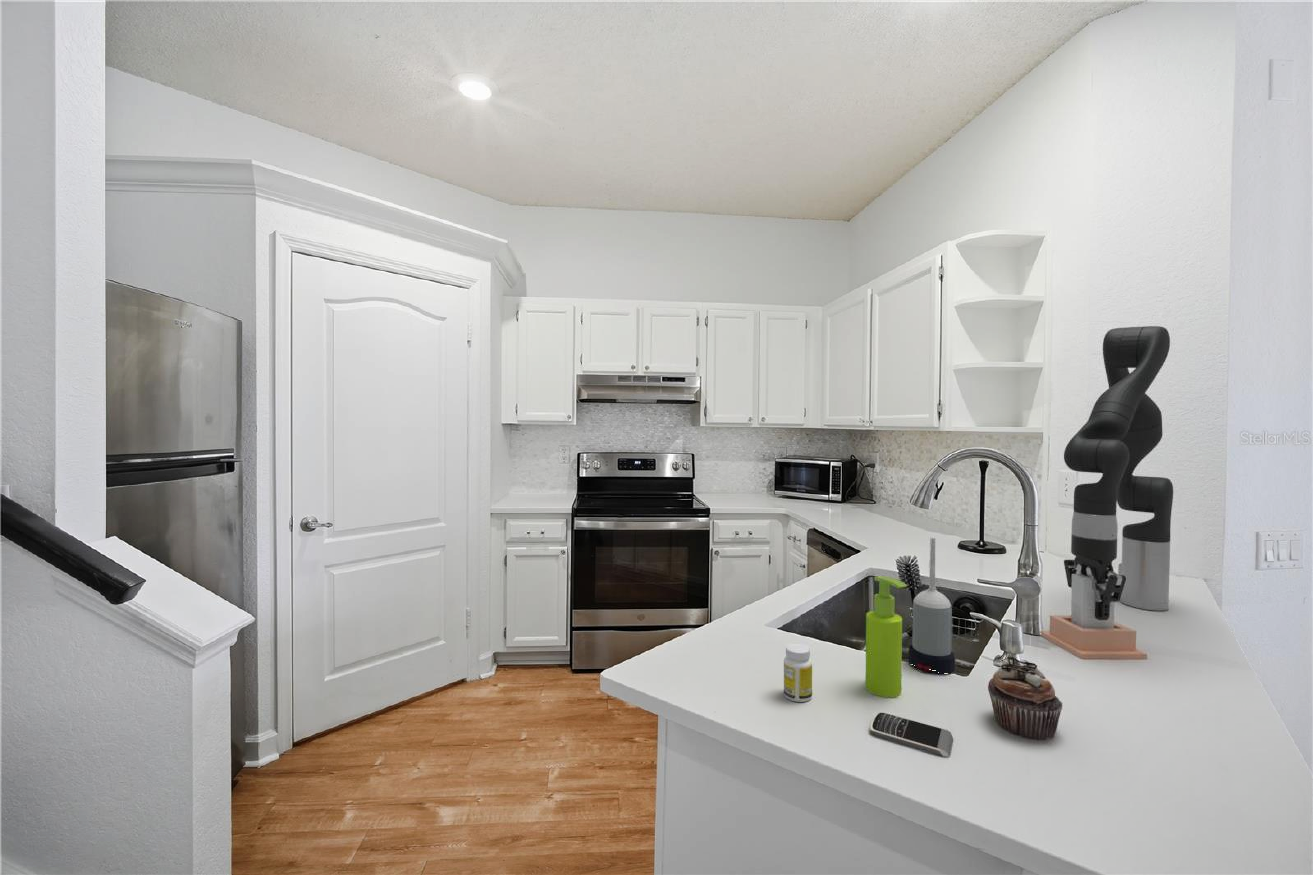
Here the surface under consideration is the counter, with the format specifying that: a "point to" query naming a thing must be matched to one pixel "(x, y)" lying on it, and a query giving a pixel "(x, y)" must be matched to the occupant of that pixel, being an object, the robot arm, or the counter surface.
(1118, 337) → the robot arm
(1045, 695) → the cupcake
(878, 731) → the cell phone
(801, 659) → the supplement bottle
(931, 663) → the grey toilet brush
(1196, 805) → the counter surface
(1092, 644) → the tan open box
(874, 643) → the soap dispenser
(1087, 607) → the skincare box
